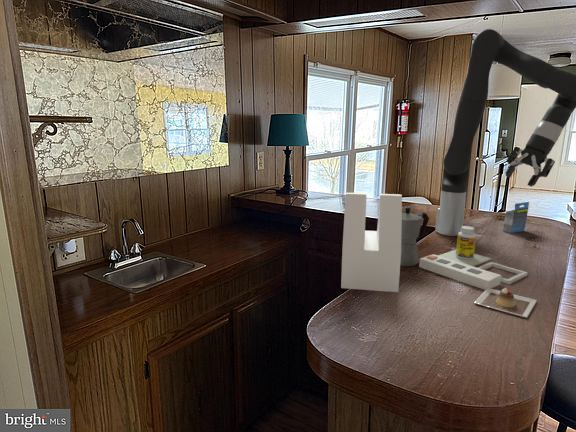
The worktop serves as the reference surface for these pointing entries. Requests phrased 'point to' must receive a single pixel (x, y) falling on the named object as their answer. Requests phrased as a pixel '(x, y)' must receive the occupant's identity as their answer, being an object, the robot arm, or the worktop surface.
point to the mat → (472, 262)
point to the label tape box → (516, 218)
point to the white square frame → (510, 280)
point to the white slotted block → (372, 244)
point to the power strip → (460, 271)
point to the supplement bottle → (466, 243)
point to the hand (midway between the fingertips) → (518, 181)
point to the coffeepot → (411, 236)
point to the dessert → (506, 300)
